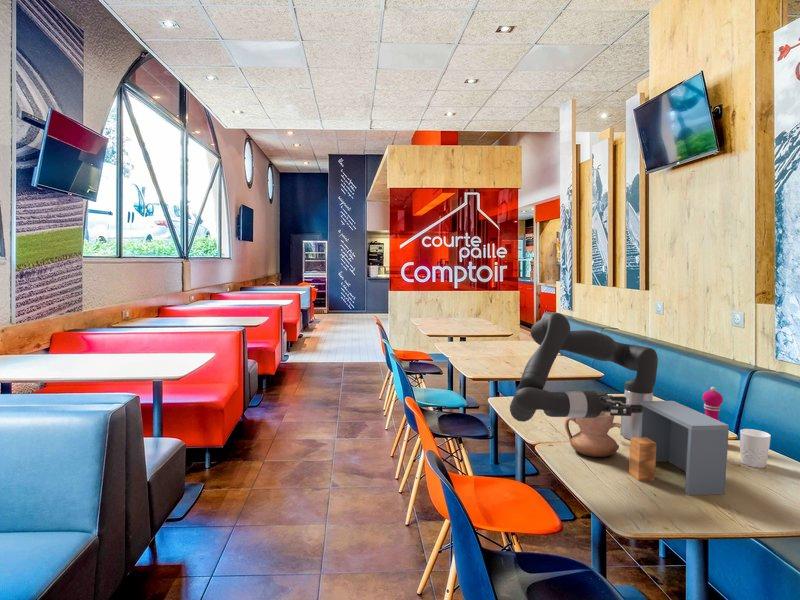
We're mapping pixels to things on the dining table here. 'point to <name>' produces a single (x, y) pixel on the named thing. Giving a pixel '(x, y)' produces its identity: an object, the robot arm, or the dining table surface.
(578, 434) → the ceramic jug
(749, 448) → the white cup
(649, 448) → the orange block
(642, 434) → the grey cubby
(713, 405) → the pepper mill
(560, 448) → the dining table surface
